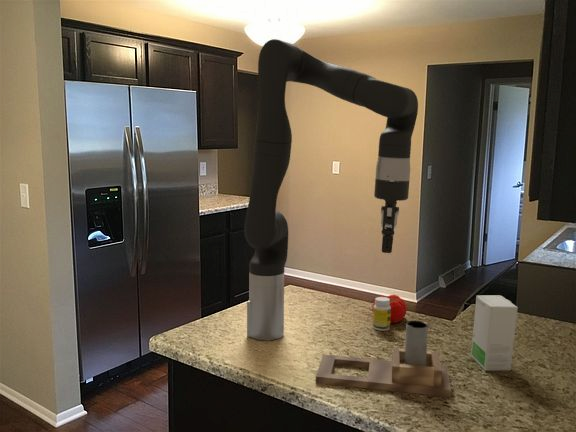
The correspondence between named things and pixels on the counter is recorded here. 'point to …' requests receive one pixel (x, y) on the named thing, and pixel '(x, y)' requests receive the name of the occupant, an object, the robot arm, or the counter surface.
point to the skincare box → (493, 332)
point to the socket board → (389, 374)
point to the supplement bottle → (382, 314)
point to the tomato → (396, 308)
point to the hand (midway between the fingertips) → (387, 248)
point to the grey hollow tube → (416, 343)
